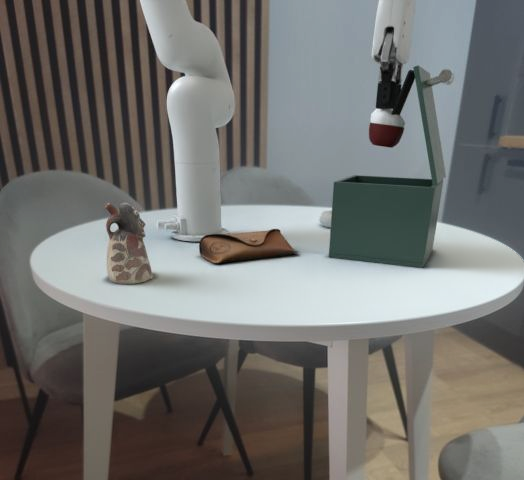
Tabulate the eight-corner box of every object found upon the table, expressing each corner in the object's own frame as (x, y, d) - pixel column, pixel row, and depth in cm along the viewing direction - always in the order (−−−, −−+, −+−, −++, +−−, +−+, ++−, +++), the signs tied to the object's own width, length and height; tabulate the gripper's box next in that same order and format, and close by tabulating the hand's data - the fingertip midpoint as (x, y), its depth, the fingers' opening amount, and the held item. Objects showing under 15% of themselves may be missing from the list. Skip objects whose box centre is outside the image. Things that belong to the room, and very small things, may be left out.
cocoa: (364, 145, 95) (375, 74, 91) (397, 148, 95) (410, 78, 90) (368, 144, 87) (382, 66, 82) (404, 148, 86) (420, 70, 82)
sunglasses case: (216, 262, 88) (208, 227, 89) (204, 274, 95) (196, 240, 95) (301, 252, 96) (293, 219, 97) (284, 263, 103) (277, 232, 103)
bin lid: (413, 67, 78) (446, 54, 76) (425, 74, 90) (454, 64, 88) (432, 185, 83) (464, 177, 81) (441, 177, 96) (469, 170, 93)
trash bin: (328, 257, 96) (333, 181, 90) (348, 242, 108) (353, 175, 102) (422, 267, 89) (434, 187, 83) (432, 250, 101) (443, 179, 96)
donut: (320, 230, 120) (362, 230, 120) (321, 215, 118) (363, 215, 118) (317, 222, 129) (356, 222, 129) (317, 209, 127) (357, 208, 127)
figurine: (154, 282, 79) (148, 205, 74) (108, 285, 78) (98, 206, 72) (150, 270, 86) (144, 198, 81) (107, 273, 84) (98, 199, 79)
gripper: (387, -4, 89) (376, 110, 97) (365, -28, 75) (355, 107, 83) (430, -7, 86) (415, 110, 94) (416, -32, 72) (400, 107, 80)
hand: (387, 107), depth 88 cm, fingers closed on cocoa, 3 cm apart
